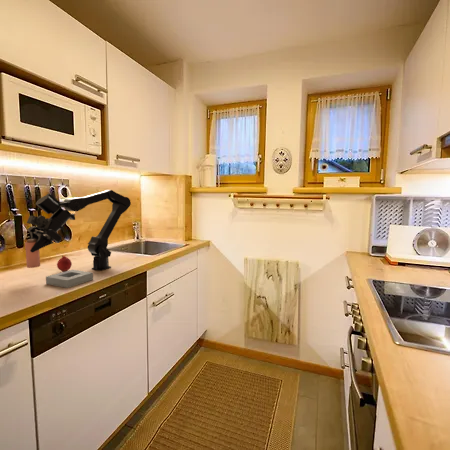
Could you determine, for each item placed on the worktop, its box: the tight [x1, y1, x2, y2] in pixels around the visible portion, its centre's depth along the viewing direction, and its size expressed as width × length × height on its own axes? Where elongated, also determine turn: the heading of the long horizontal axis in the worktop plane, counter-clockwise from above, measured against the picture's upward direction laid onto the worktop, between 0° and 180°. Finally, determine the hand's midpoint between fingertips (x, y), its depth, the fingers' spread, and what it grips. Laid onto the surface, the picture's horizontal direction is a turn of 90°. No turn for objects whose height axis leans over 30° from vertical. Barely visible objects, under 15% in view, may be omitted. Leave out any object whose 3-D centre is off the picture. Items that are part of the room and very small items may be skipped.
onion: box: [56, 254, 73, 272], centre depth 125 cm, size 6×6×8 cm
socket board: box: [45, 269, 94, 289], centre depth 112 cm, size 12×12×3 cm
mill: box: [24, 238, 41, 269], centre depth 108 cm, size 4×4×11 cm
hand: (28, 250), depth 107 cm, fingers closed on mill, 4 cm apart
